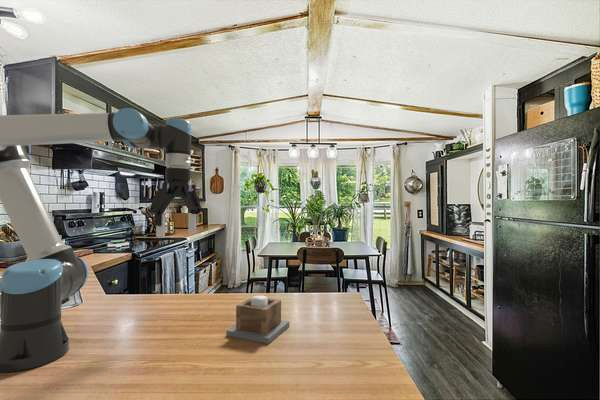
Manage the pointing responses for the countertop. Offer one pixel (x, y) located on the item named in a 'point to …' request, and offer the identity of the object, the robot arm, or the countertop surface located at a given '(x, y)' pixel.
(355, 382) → the countertop surface
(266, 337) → the square plate with peg
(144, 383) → the countertop surface
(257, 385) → the countertop surface
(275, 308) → the collar
